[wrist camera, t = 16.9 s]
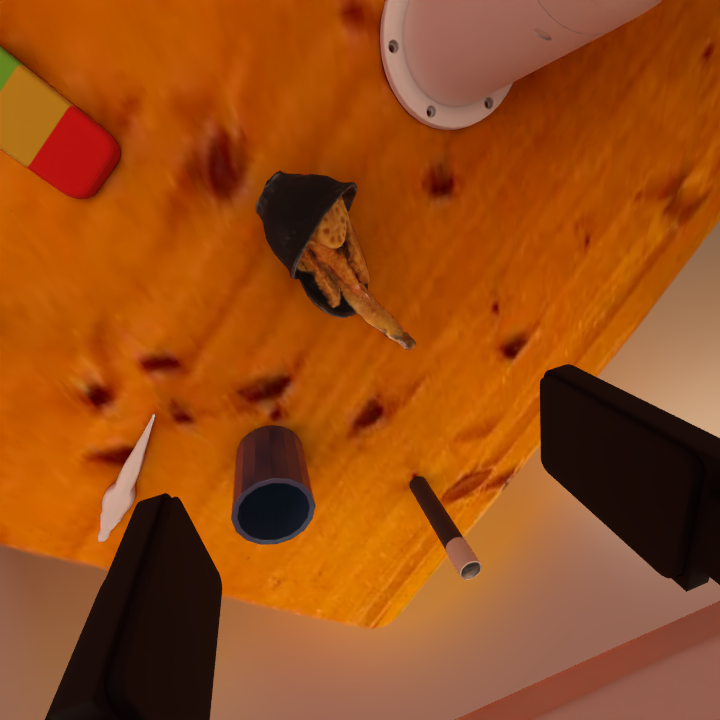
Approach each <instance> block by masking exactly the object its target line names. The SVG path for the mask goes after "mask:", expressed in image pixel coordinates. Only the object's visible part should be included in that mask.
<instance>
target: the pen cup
mask: <svg viewBox="0 0 720 720" xmlns="http://www.w3.org/2000/svg"><path fill="white" fill-rule="evenodd" d="M314 509H315V502H314V498H313V493H312V488H311V483H310V479H309V474H308V469H307V464H306V459H305V455H304V451H303V447H302V443H301V441H300V439H299V438H298V436H297V435H296V434H295V433H293V432H292V431H291V430H289V429H287V428H284V427H280V426H265V427H261V428H258V429H256V430H254V431H252V432H250V433H249V434H248V435H247V436H246V437H245V438H244V439H243V440H242V441H241V443H240V444H239V446H238V449H237V455H236V463H235V476H234V489H233V502H232V515H231V520H232V522H233V525H234V527H235V530H236V532H238V533H239V534H240V535H241V536H242V537H243V538H245V539H246V540H248V541H251V542H254V543H258V544H278V543H281V542H284V541H287V540H290V539H292V538H294V537H295V536H297V535H298V534H299V533H301V532H302V531H304V530H305V528H306V527H307V525H308V524H309V523H310V521H311V520H312V518H313V514H314Z"/></svg>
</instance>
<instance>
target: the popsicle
mask: <svg viewBox="0 0 720 720" xmlns="http://www.w3.org/2000/svg"><path fill="white" fill-rule="evenodd" d="M0 149H1V150H2V151H4V152H5V153H7V154H8V155H9V156H11V157H12V158H14V159H15V160H17V161H18V162H19V163H21V164H22V165H24V166H25V167H26V168H28V169H29V170H31V171H32V172H34V173H35V174H36V175H38V176H39V177H41V178H42V179H44V180H45V181H46V182H48V183H49V184H51V185H52V186H54V187H55V188H56V189H58V190H59V191H61V192H63V193H64V194H66V195H68V196H70V197H74V198H77V199H86V198H89V197H91V196H93V195H94V194H95V193H96V192H97V191H98V190H99V188H100V187H101V185H102V184H103V182H104V181H105V180H106V178H107V177H108V175H109V174H110V173H111V171H112V170H113V168H114V167H115V165H116V164H117V162H118V160H119V158H120V148H119V145H118V143H117V142H116V140H115V139H114V138H113V137H112V136H111V135H110V134H109V133H108V132H107V131H106V130H104V129H103V128H102V127H101V126H99V125H98V124H97V123H96V122H94V121H93V120H92V119H91V118H89V117H88V116H87V115H86V114H84V113H83V112H82V111H81V110H79V109H78V108H77V107H76V106H74V105H73V104H72V103H71V102H69V101H68V100H67V99H66V98H64V97H63V96H62V95H61V94H59V93H58V92H57V91H56V90H54V89H53V88H52V87H51V86H49V85H48V84H47V83H46V82H44V81H43V80H42V79H41V78H39V77H38V76H37V75H36V74H34V73H33V72H32V71H31V70H29V69H28V68H27V67H26V66H24V65H23V64H22V63H21V62H19V61H18V60H17V59H16V58H14V57H13V56H12V55H11V54H9V53H8V52H7V51H6V50H4V49H3V48H2V47H1V46H0Z"/></svg>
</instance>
